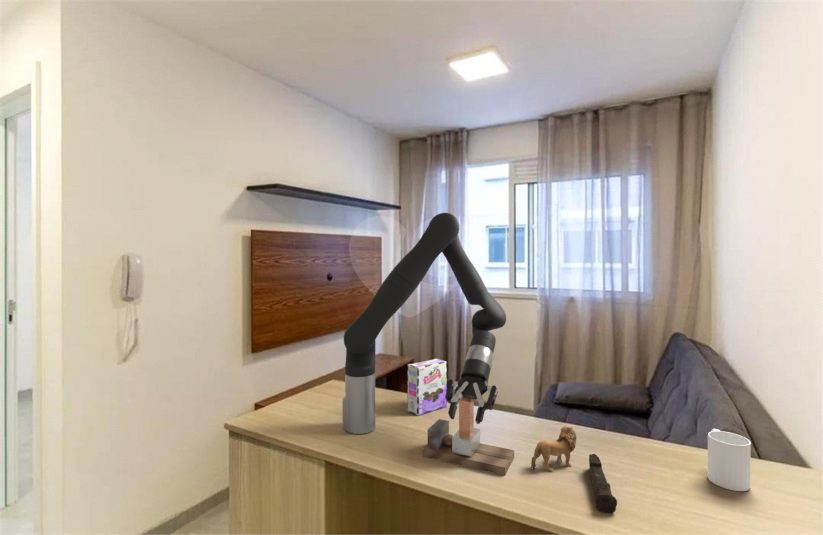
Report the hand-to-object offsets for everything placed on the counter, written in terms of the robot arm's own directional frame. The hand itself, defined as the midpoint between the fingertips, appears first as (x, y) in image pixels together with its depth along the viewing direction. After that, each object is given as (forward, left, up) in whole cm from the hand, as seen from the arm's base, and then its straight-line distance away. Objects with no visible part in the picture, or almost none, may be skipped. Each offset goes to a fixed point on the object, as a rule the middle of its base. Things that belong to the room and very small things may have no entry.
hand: (464, 420), depth 106 cm
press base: (+1, +2, -10) cm, 11 cm away
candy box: (-23, +29, -11) cm, 39 cm away
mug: (+59, +19, -11) cm, 62 cm away
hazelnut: (-5, +2, -8) cm, 10 cm away
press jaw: (0, +2, -8) cm, 8 cm away
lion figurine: (+21, +7, -11) cm, 25 cm away
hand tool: (+31, 0, -11) cm, 33 cm away
